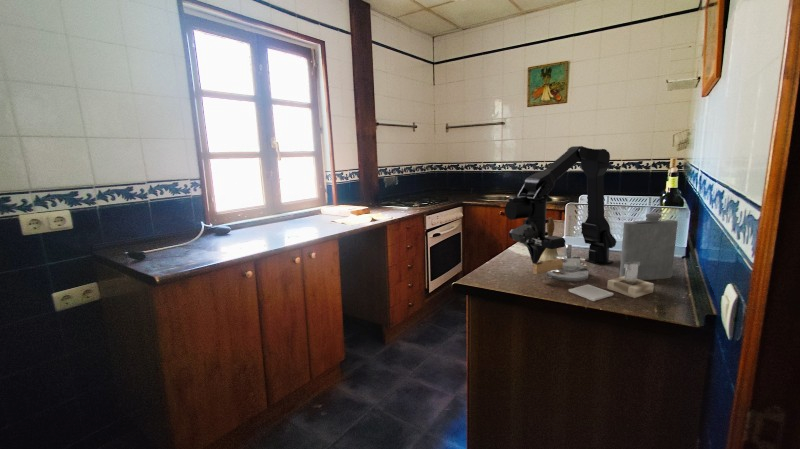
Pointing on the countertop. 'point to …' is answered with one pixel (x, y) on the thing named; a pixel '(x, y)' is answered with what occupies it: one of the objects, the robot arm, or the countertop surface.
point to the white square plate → (590, 292)
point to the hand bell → (548, 253)
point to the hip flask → (649, 247)
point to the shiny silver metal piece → (631, 272)
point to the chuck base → (569, 274)
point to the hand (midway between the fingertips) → (534, 263)
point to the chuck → (559, 263)
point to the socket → (630, 287)
